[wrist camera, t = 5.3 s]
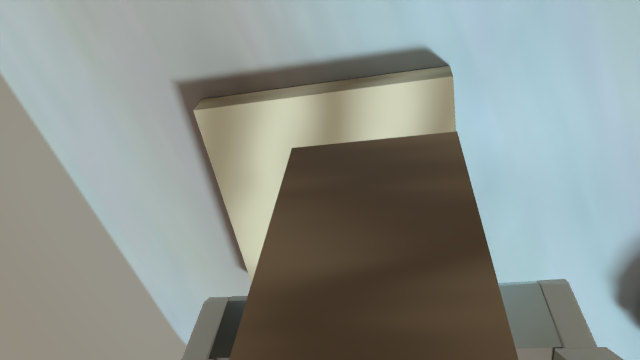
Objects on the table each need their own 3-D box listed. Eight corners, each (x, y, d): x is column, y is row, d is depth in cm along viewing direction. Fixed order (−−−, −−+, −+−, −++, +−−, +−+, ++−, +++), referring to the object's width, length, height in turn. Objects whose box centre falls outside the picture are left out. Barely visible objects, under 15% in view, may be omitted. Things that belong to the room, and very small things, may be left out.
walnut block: (456, 131, 12) (583, 602, 5) (460, 260, 14) (553, 735, 7) (291, 147, 13) (162, 583, 5) (318, 269, 15) (253, 709, 7)
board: (449, 65, 27) (453, 76, 26) (460, 265, 35) (463, 281, 33) (201, 99, 30) (193, 110, 29) (259, 278, 37) (255, 294, 36)
